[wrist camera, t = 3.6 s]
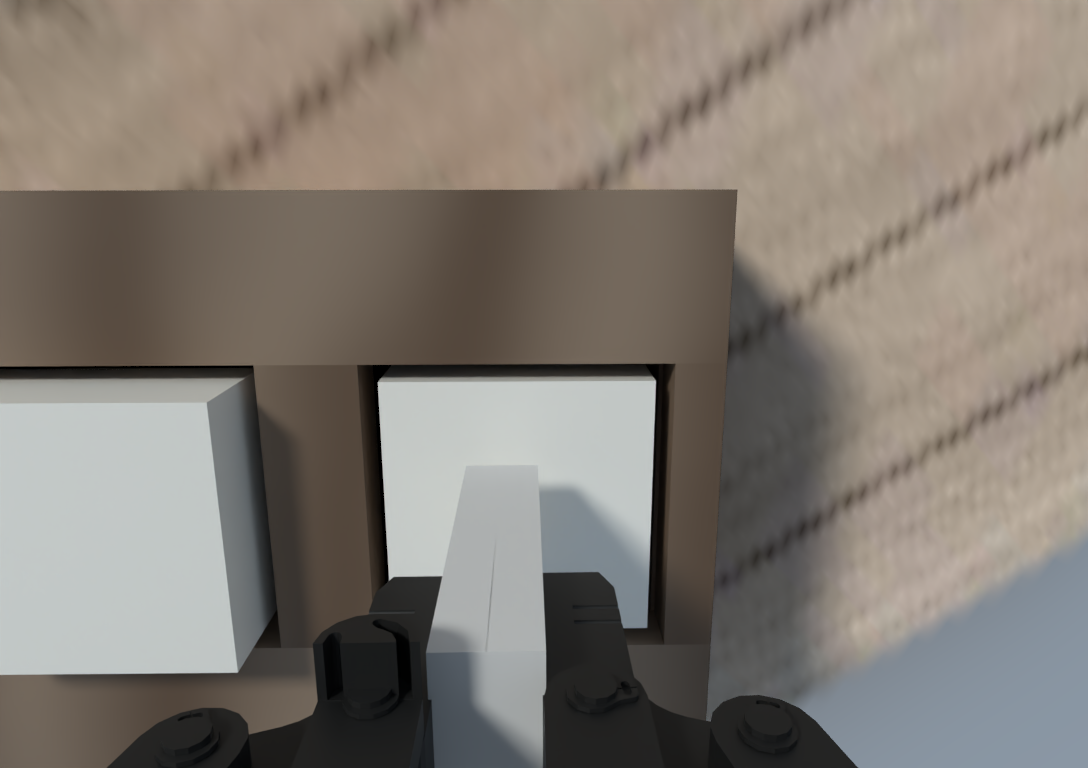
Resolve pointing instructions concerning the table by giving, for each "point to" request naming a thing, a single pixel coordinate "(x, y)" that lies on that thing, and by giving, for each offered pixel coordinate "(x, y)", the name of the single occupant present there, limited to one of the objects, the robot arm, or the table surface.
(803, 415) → the table surface
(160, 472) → the middle button
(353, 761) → the robot arm
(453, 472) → the outer button
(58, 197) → the button box
